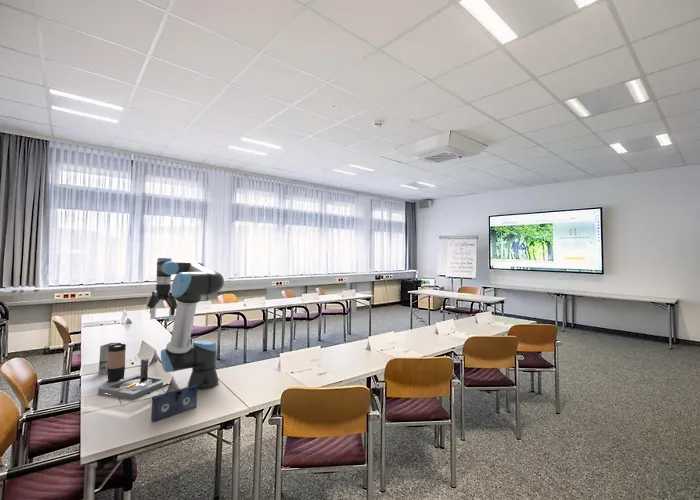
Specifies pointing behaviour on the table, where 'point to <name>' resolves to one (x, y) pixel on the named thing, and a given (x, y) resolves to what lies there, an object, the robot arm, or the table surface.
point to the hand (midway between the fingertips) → (161, 319)
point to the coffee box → (104, 358)
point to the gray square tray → (119, 392)
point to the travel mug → (116, 362)
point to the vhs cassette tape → (173, 403)
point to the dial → (138, 383)
